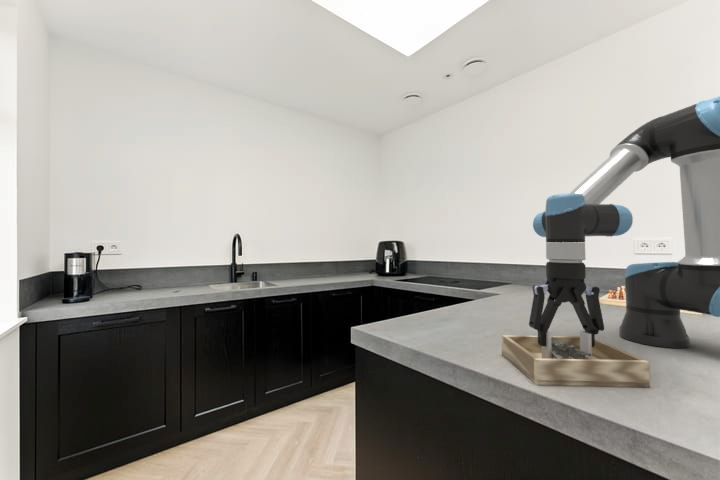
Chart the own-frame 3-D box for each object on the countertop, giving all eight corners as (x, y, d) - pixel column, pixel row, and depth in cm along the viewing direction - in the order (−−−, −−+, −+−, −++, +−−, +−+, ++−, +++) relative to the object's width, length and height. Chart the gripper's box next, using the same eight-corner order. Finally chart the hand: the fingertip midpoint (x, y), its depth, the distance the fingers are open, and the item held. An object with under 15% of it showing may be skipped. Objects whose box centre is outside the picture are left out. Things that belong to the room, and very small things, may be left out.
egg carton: (594, 374, 63) (593, 355, 63) (552, 369, 66) (552, 350, 66) (577, 356, 73) (576, 339, 73) (541, 352, 76) (541, 336, 76)
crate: (589, 356, 78) (589, 336, 78) (649, 387, 61) (649, 362, 61) (501, 354, 79) (501, 335, 79) (536, 384, 62) (536, 360, 62)
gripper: (600, 260, 73) (601, 355, 73) (511, 260, 74) (512, 353, 74) (625, 262, 66) (627, 368, 65) (526, 262, 67) (527, 366, 66)
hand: (566, 360), depth 70 cm, fingers closed on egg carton, 8 cm apart
